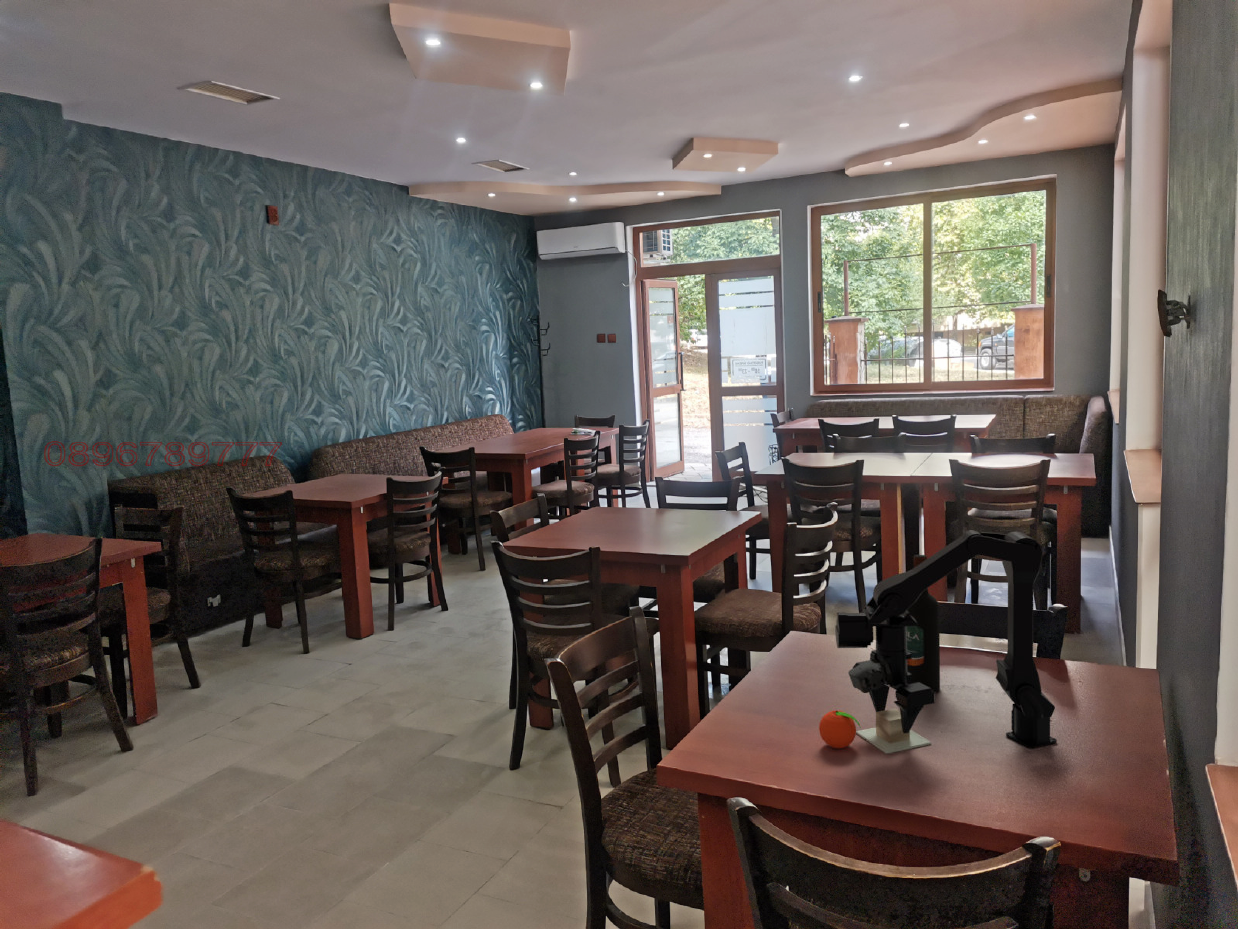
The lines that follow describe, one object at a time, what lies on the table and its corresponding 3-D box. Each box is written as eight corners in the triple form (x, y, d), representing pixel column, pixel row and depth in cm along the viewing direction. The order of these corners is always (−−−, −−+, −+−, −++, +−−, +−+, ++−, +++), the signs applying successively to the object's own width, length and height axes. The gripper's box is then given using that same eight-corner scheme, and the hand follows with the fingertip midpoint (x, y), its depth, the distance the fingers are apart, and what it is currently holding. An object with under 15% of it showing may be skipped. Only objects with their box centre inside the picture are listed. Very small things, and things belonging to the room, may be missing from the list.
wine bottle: (942, 695, 190) (941, 560, 187) (906, 694, 192) (904, 560, 188) (937, 682, 198) (936, 552, 194) (902, 681, 199) (900, 552, 196)
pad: (931, 744, 167) (931, 742, 167) (886, 753, 164) (886, 751, 164) (899, 724, 177) (899, 722, 176) (856, 733, 174) (855, 731, 173)
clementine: (866, 743, 169) (865, 708, 168) (856, 758, 163) (855, 721, 162) (825, 736, 173) (824, 701, 172) (814, 750, 167) (813, 714, 166)
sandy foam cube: (909, 739, 169) (909, 716, 168) (889, 743, 167) (889, 720, 167) (895, 730, 173) (895, 708, 173) (876, 734, 172) (875, 712, 171)
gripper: (828, 639, 175) (830, 714, 176) (884, 669, 157) (885, 752, 159) (876, 631, 178) (878, 705, 180) (936, 659, 160) (937, 741, 162)
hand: (892, 725), depth 170 cm, fingers open, 8 cm apart
